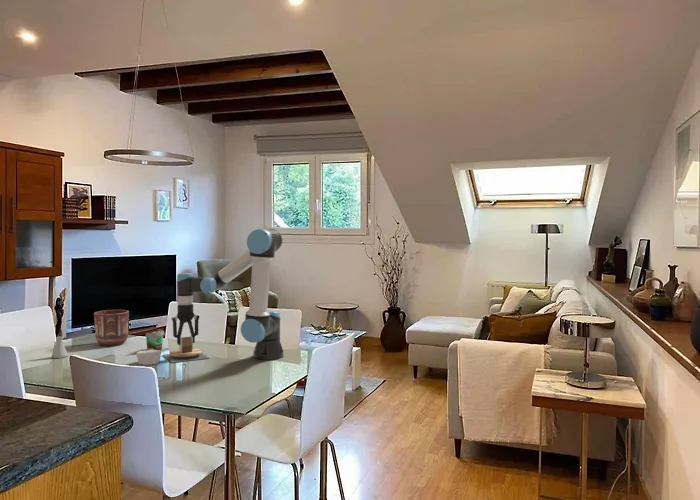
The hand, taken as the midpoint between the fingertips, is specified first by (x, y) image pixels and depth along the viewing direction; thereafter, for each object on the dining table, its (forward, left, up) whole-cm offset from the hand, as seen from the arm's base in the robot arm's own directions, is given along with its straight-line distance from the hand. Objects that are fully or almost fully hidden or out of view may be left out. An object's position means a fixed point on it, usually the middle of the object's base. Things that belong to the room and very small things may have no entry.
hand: (186, 350), depth 271 cm
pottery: (+52, +26, -4) cm, 59 cm away
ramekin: (-2, +18, -4) cm, 19 cm away
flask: (+33, +53, -4) cm, 63 cm away
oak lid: (0, 0, -2) cm, 2 cm away
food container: (+24, +8, -4) cm, 26 cm away
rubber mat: (0, 0, -3) cm, 4 cm away
